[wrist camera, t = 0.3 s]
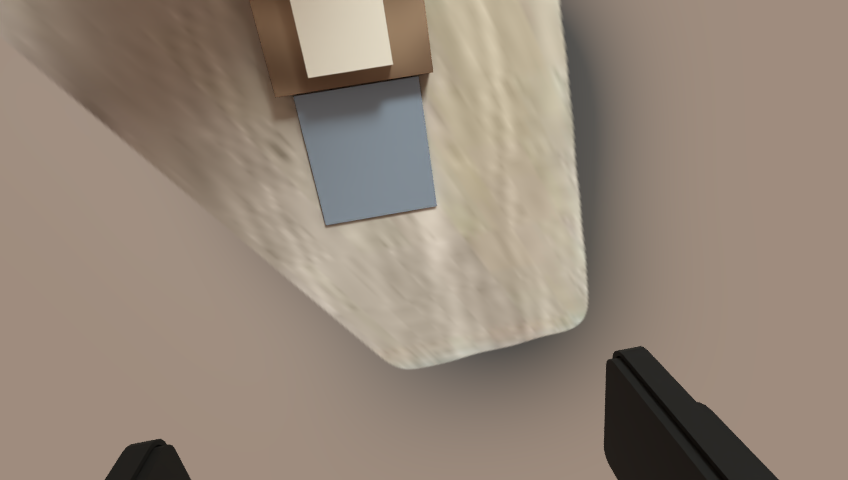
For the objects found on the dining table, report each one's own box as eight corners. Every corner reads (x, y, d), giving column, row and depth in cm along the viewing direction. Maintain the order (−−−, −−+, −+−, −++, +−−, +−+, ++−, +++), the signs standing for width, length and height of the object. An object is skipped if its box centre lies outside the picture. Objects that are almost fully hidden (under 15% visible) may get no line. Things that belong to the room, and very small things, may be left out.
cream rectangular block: (278, -68, 28) (271, -76, 27) (368, -81, 29) (368, -90, 27) (311, 76, 32) (308, 78, 30) (391, 64, 32) (393, 64, 30)
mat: (293, 96, 34) (293, 96, 34) (418, 76, 35) (418, 76, 34) (326, 224, 39) (325, 225, 38) (436, 204, 39) (436, 206, 39)
